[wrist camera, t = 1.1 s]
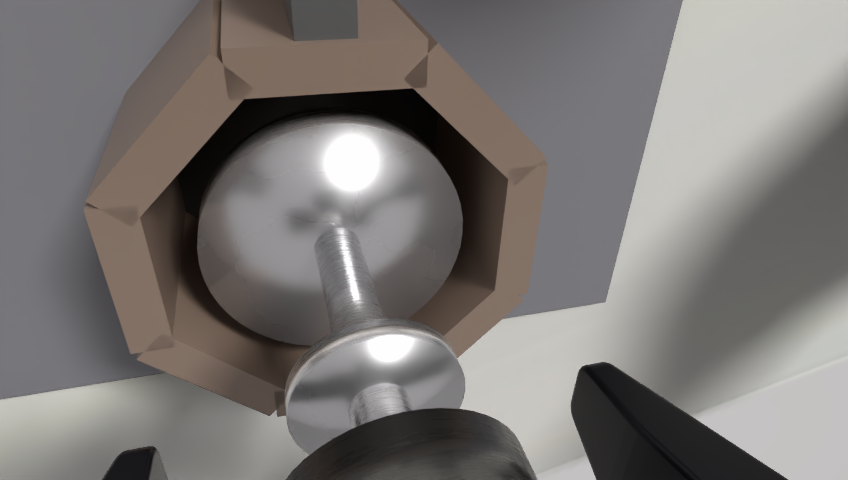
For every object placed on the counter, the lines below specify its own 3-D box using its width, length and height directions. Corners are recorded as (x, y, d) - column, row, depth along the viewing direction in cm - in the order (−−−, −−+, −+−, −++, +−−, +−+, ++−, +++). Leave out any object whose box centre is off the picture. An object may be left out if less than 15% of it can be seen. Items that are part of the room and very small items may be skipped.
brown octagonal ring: (482, -147, 13) (596, -133, 9) (453, 257, 19) (514, 373, 15) (59, -158, 11) (-35, -148, 7) (174, 294, 17) (158, 438, 13)
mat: (716, -165, 14) (724, -165, 14) (601, 297, 22) (605, 302, 22) (-357, -209, 10) (-371, -210, 9) (-23, 395, 17) (-26, 403, 17)
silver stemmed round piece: (459, 97, 12) (732, 420, 5) (445, 304, 15) (613, 672, 8) (174, 117, 11) (97, 561, 4) (221, 338, 13) (216, 798, 7)
